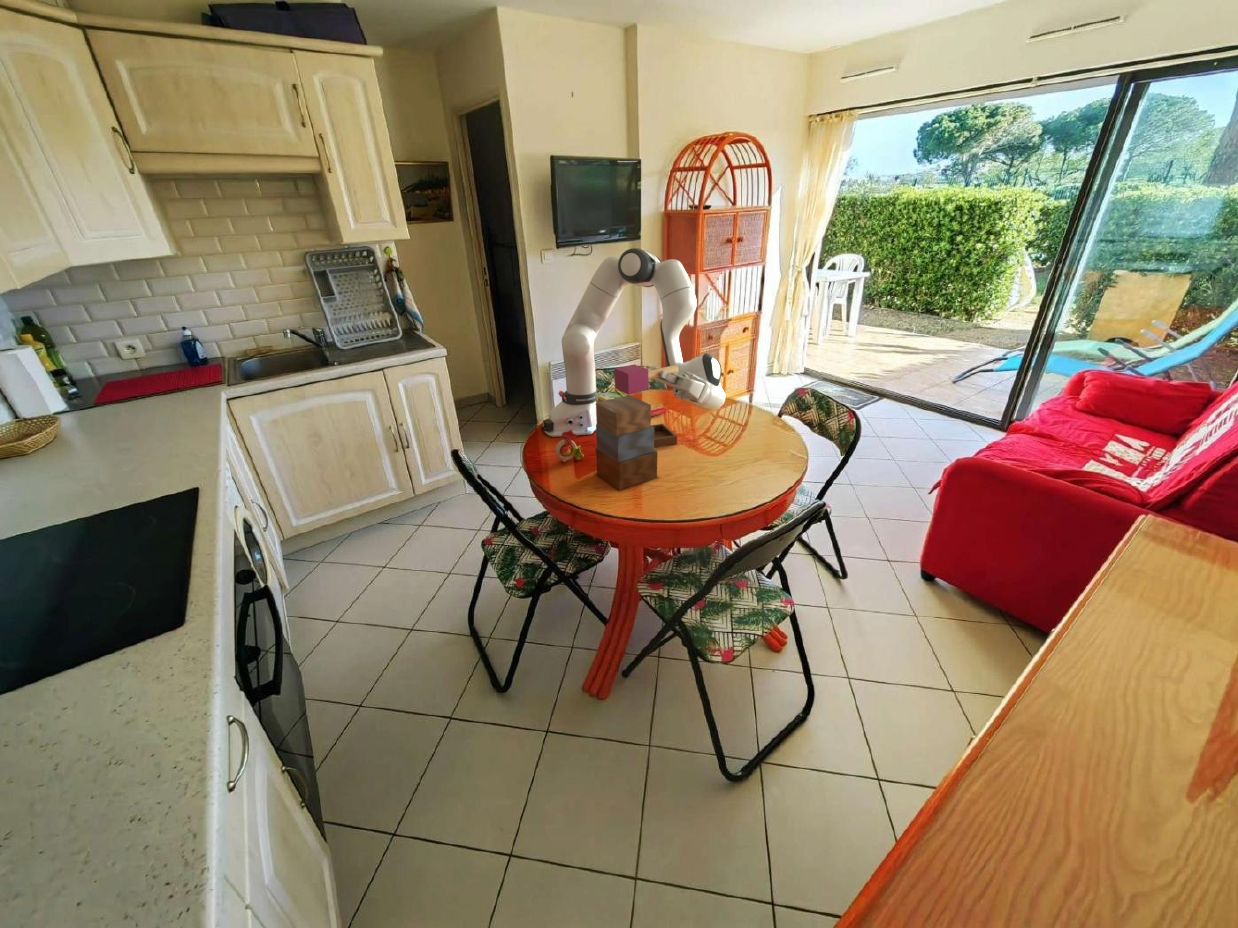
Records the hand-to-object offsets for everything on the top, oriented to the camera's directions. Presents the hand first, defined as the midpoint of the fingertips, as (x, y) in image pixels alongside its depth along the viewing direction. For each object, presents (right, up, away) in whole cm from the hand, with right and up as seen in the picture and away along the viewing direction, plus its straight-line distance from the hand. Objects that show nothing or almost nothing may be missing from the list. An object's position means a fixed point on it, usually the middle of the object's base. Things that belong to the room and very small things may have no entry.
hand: (657, 372), depth 151 cm
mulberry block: (-2, -4, 0) cm, 4 cm away
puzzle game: (-13, -4, +63) cm, 65 cm away
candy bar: (+1, -8, +54) cm, 55 cm away
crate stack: (-9, -31, +8) cm, 33 cm away
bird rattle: (-28, -26, +19) cm, 43 cm away
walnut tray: (-1, -19, +33) cm, 38 cm away
